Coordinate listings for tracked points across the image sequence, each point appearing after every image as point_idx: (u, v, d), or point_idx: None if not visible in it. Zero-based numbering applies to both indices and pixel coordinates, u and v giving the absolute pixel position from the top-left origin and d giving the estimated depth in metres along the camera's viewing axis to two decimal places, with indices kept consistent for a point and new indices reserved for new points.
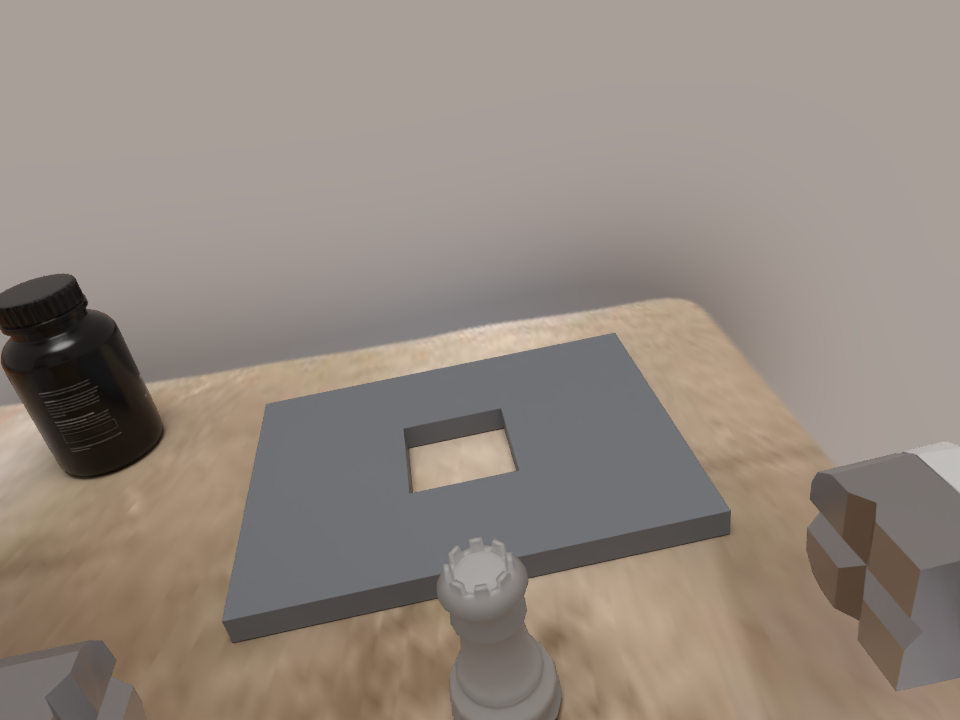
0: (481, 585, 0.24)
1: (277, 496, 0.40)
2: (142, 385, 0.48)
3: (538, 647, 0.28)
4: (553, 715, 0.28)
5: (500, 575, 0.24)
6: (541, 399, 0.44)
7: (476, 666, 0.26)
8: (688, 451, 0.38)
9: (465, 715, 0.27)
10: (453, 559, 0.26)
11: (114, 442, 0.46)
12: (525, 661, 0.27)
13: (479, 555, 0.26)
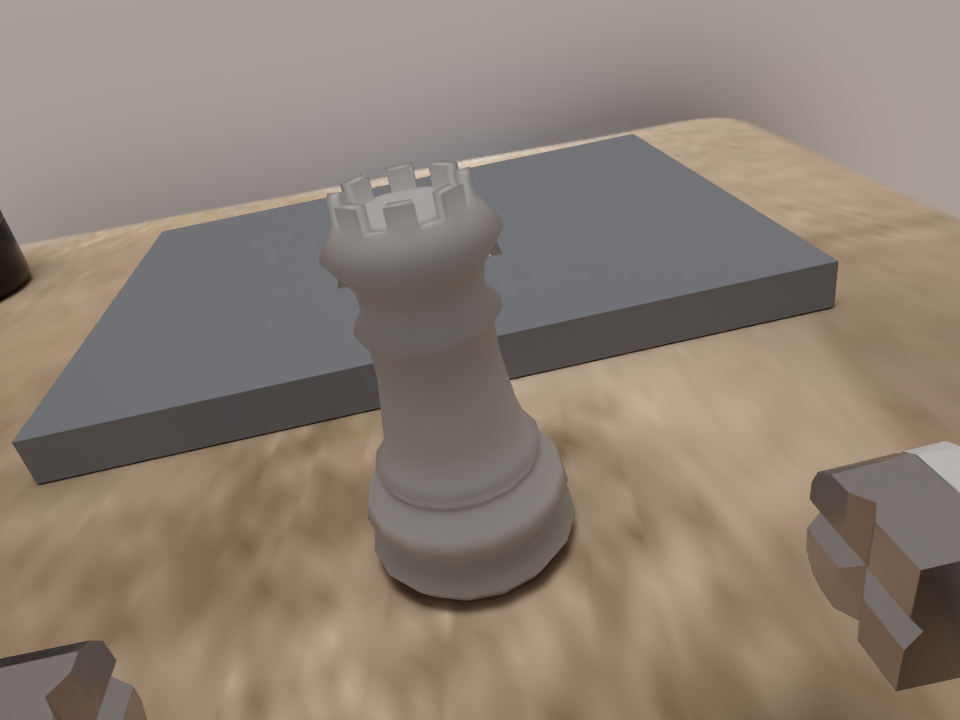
0: (400, 201, 0.11)
1: (148, 307, 0.27)
2: None
3: (529, 418, 0.15)
4: (559, 539, 0.15)
5: (442, 188, 0.12)
6: (535, 192, 0.31)
7: (407, 423, 0.13)
8: (755, 214, 0.25)
9: (391, 533, 0.14)
10: (354, 197, 0.13)
11: None
12: (504, 419, 0.14)
13: (405, 190, 0.13)
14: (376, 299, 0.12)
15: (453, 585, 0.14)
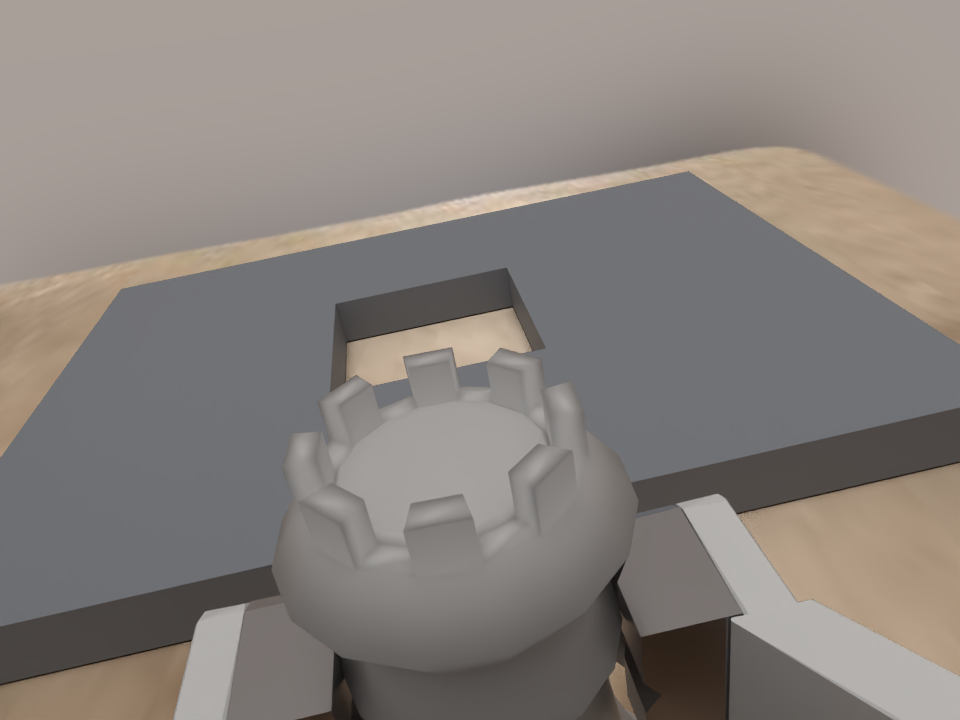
0: (441, 502, 0.05)
1: (85, 411, 0.21)
2: None
3: None
4: None
5: (528, 461, 0.05)
6: (578, 252, 0.25)
7: None
8: (882, 301, 0.19)
9: None
10: (343, 427, 0.07)
11: None
12: None
13: (442, 410, 0.07)
14: None
15: None
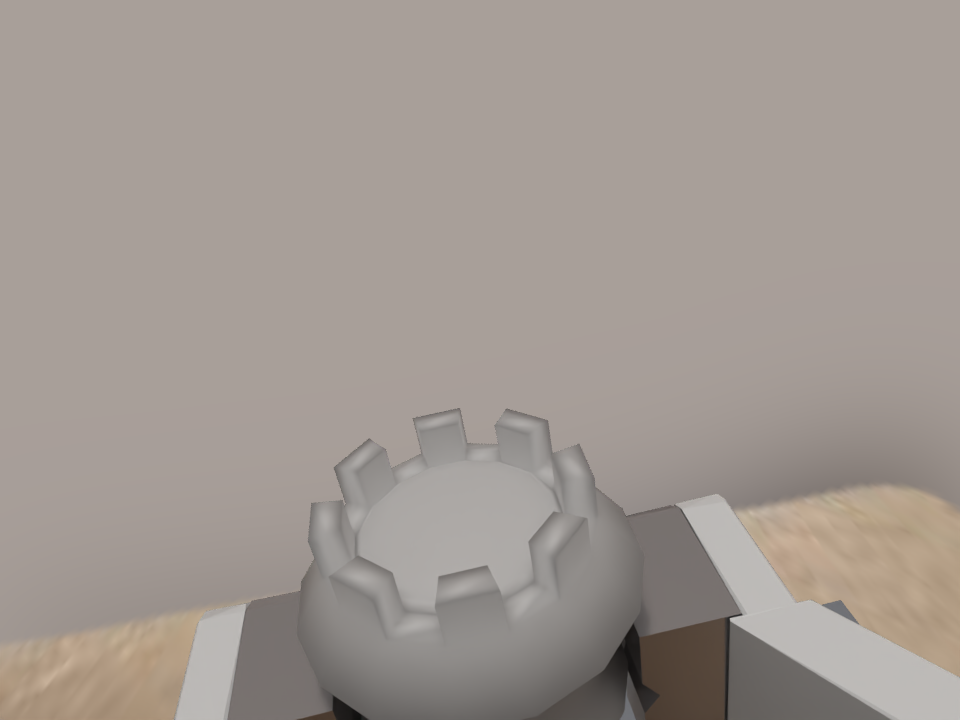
0: (468, 575, 0.05)
1: None
2: None
3: None
4: None
5: (546, 529, 0.06)
6: None
7: None
8: None
9: None
10: (360, 491, 0.07)
11: None
12: None
13: (454, 470, 0.07)
14: None
15: None
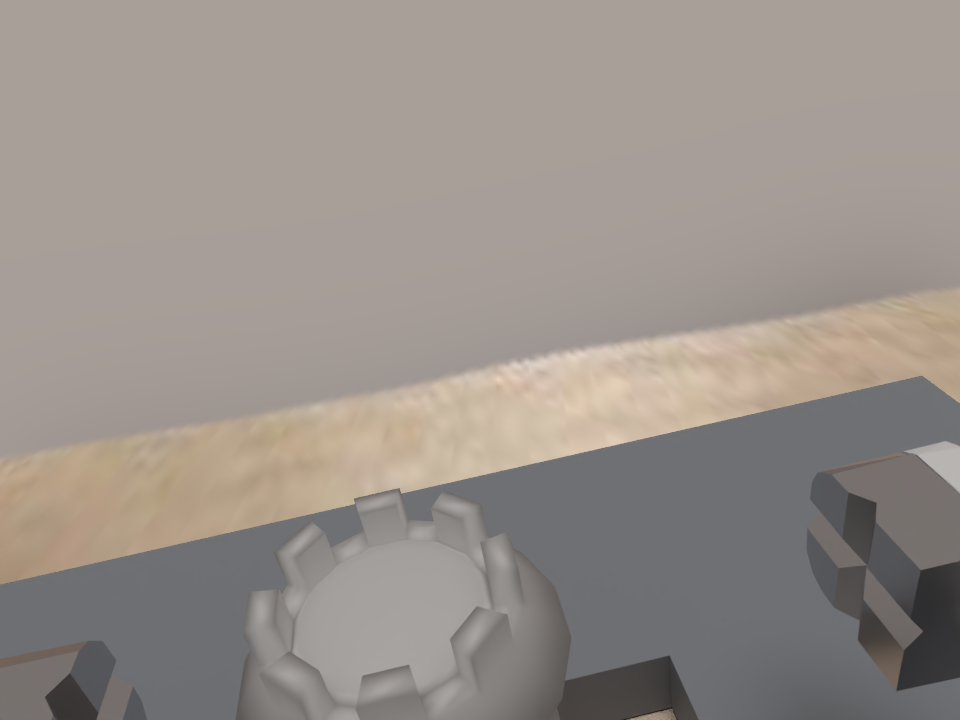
0: (390, 675, 0.06)
1: None
2: None
3: None
4: None
5: (468, 625, 0.06)
6: (807, 622, 0.13)
7: None
8: None
9: None
10: (300, 575, 0.07)
11: None
12: None
13: (391, 553, 0.07)
14: None
15: None
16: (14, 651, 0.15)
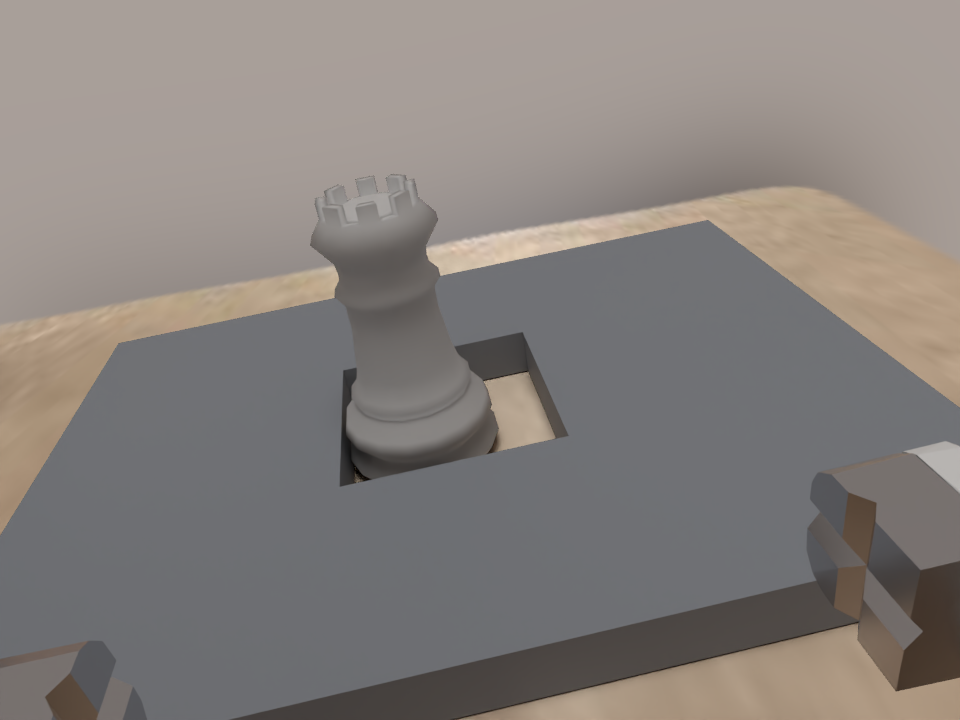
0: (367, 202, 0.17)
1: (80, 496, 0.20)
2: None
3: (463, 359, 0.21)
4: (486, 445, 0.20)
5: (395, 193, 0.17)
6: (597, 316, 0.24)
7: (373, 359, 0.19)
8: (927, 390, 0.18)
9: (364, 441, 0.20)
10: (333, 200, 0.18)
11: None
12: (443, 356, 0.19)
13: (370, 195, 0.18)
14: (351, 270, 0.18)
15: None
16: (156, 360, 0.26)
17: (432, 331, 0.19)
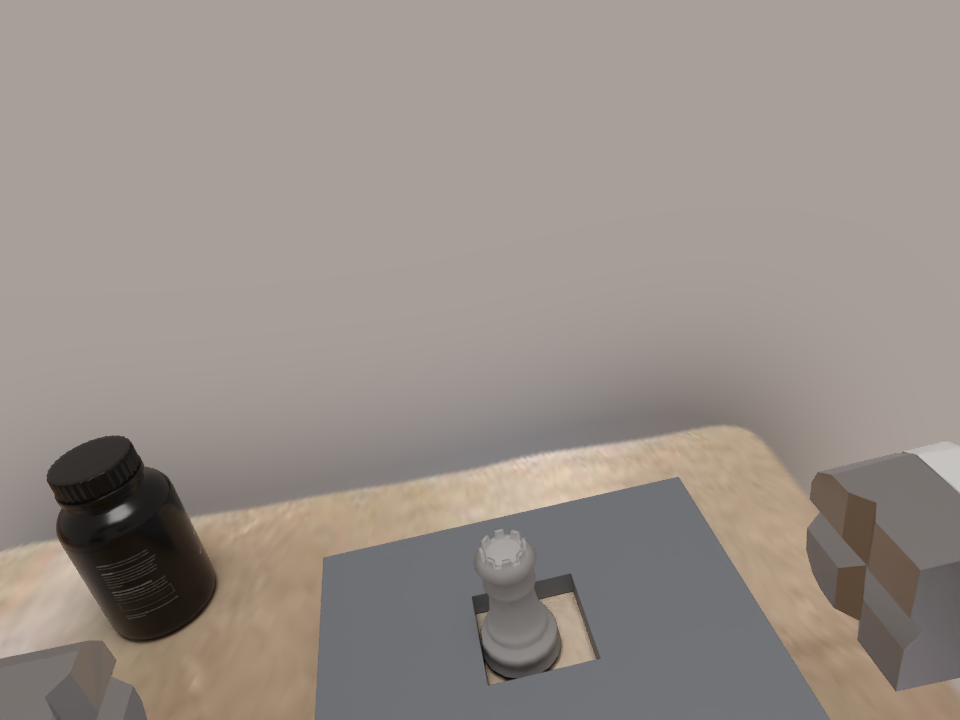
0: (506, 560, 0.36)
1: (348, 682, 0.39)
2: (196, 541, 0.47)
3: (543, 606, 0.40)
4: (556, 653, 0.39)
5: (518, 552, 0.36)
6: (612, 563, 0.43)
7: (502, 619, 0.38)
8: (776, 640, 0.37)
9: (495, 655, 0.38)
10: (485, 544, 0.37)
11: (170, 606, 0.45)
12: (536, 614, 0.38)
13: (502, 541, 0.37)
14: (496, 585, 0.36)
15: (518, 674, 0.38)
16: (354, 576, 0.45)
17: (531, 604, 0.38)
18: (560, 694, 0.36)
